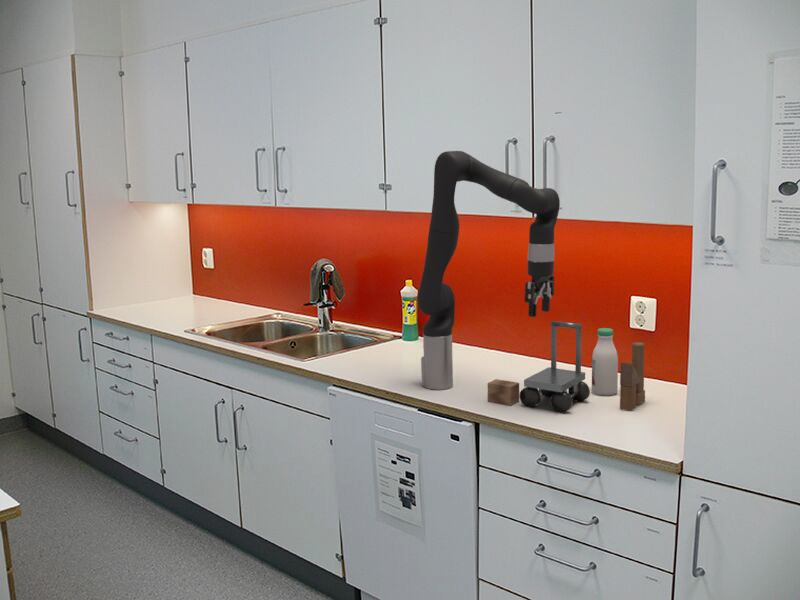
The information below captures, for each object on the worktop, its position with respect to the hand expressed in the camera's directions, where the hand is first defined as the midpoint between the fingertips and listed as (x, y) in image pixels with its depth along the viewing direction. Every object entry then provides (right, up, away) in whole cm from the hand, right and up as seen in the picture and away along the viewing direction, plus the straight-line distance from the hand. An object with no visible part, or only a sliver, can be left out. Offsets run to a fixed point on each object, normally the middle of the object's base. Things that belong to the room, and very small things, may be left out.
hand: (539, 313), depth 246 cm
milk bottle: (+23, -25, +15) cm, 37 cm away
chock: (-9, -27, +9) cm, 30 cm away
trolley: (+6, -27, +6) cm, 28 cm away
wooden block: (+28, -27, +2) cm, 39 cm away
